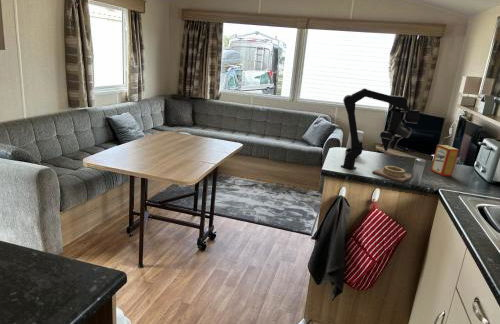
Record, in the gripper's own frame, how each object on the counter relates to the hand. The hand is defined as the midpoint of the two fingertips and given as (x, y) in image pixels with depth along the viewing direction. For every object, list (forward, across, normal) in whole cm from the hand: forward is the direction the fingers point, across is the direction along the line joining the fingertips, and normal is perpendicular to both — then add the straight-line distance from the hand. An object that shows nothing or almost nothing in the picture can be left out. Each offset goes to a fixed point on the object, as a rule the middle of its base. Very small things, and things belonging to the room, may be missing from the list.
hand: (389, 149), depth 193 cm
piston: (+13, -3, -17) cm, 22 cm away
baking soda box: (+13, +36, -19) cm, 42 cm away
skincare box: (+13, +18, +29) cm, 37 cm away
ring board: (+13, +1, -5) cm, 14 cm away
